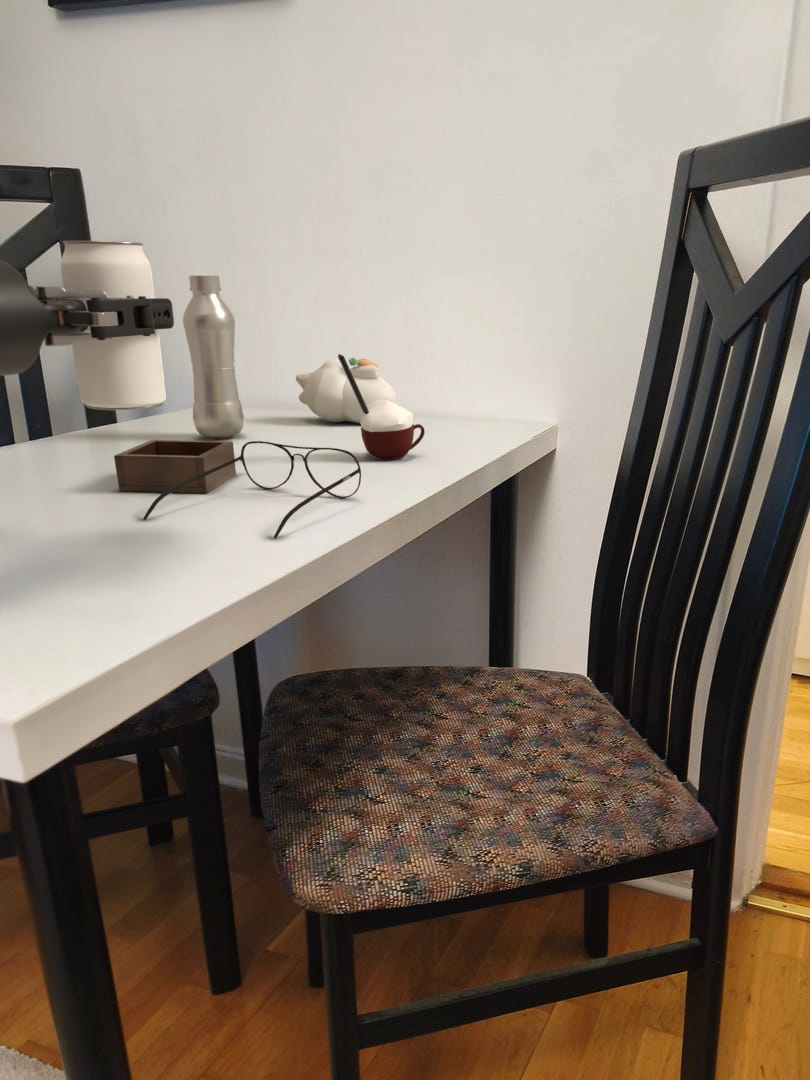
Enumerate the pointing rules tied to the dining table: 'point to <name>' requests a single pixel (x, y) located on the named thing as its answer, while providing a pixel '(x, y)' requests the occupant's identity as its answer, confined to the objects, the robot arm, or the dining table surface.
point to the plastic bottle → (212, 360)
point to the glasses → (273, 487)
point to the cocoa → (384, 424)
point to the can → (123, 362)
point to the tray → (174, 465)
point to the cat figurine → (343, 390)
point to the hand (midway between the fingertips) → (134, 311)
